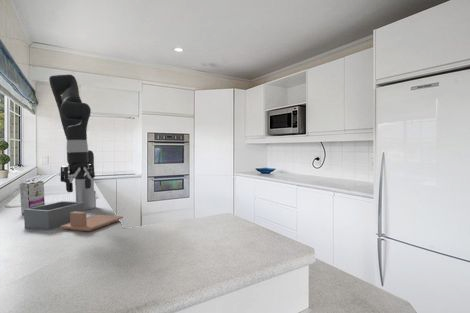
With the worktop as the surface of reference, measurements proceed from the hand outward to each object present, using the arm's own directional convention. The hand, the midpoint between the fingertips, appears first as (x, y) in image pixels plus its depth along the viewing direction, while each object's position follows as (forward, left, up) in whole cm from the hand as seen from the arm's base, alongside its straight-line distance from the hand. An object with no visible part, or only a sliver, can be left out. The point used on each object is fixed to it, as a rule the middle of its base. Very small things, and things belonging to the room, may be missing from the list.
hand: (79, 190), depth 108 cm
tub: (-5, -20, -17) cm, 27 cm away
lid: (-7, 0, -17) cm, 18 cm away
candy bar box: (-20, -56, -17) cm, 62 cm away
